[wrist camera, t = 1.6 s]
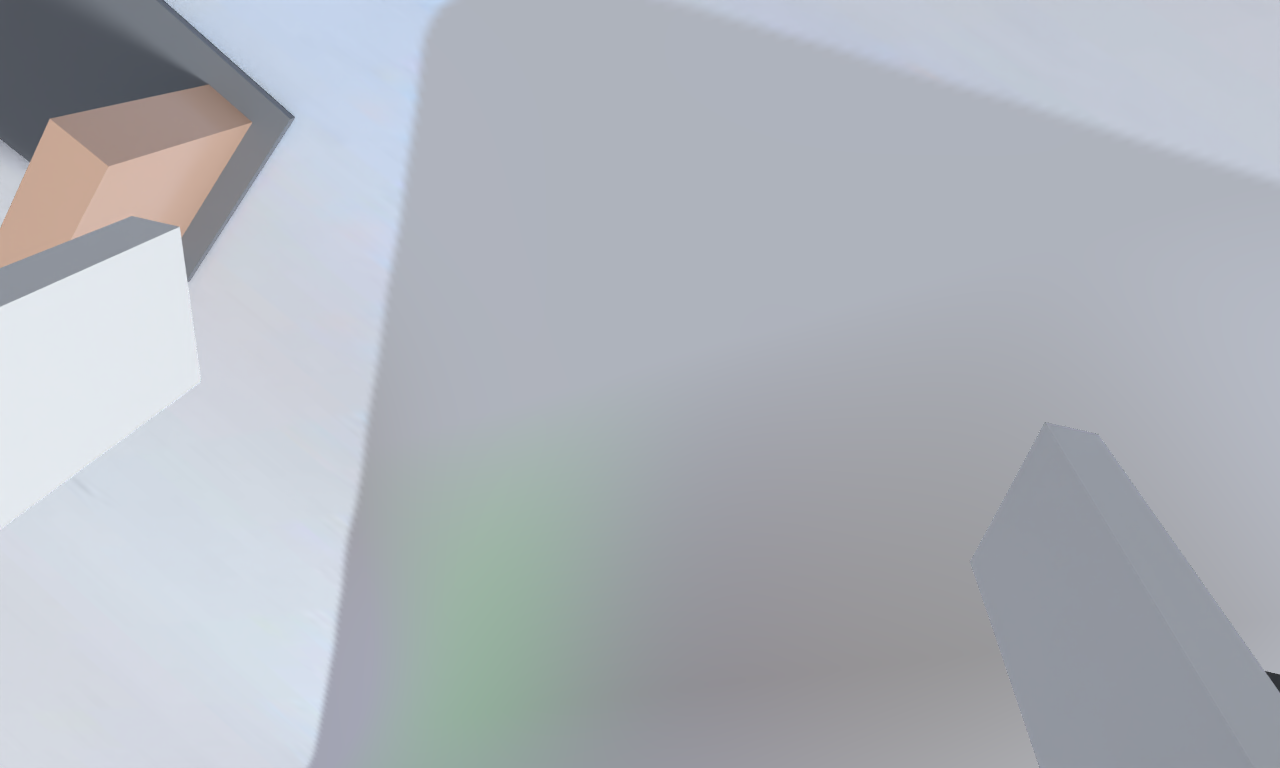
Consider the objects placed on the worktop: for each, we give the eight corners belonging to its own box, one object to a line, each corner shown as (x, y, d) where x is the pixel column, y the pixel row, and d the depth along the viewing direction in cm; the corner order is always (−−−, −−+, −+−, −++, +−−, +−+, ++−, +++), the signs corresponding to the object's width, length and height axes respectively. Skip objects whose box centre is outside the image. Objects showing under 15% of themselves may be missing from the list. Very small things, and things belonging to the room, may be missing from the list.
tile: (132, 215, 39) (-26, 277, 31) (207, 82, 35) (47, 116, 27) (174, 249, 40) (29, 318, 32) (252, 122, 36) (108, 166, 28)
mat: (-54, 89, 38) (-61, 90, 37) (23, -124, 32) (16, -125, 32) (189, 281, 41) (184, 284, 41) (294, 117, 36) (290, 119, 35)
